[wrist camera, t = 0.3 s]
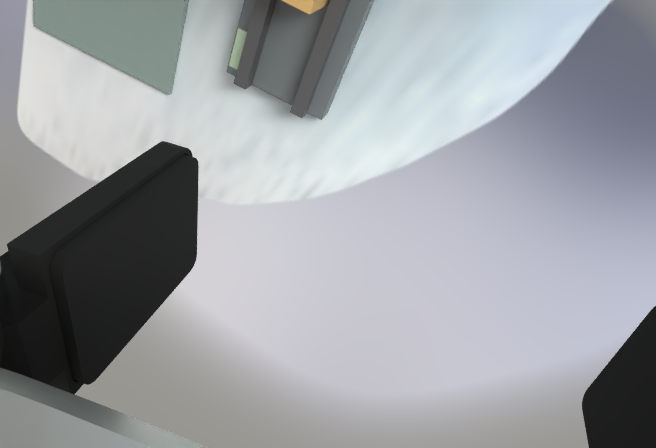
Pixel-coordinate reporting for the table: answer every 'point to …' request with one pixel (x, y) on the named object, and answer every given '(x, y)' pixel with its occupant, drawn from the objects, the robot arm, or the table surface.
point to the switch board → (296, 50)
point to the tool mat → (121, 33)
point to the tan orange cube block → (308, 4)
